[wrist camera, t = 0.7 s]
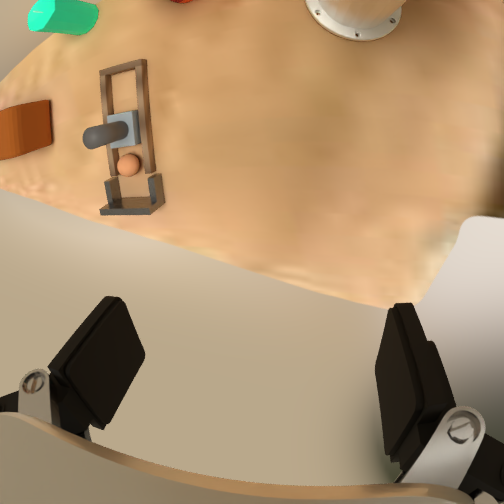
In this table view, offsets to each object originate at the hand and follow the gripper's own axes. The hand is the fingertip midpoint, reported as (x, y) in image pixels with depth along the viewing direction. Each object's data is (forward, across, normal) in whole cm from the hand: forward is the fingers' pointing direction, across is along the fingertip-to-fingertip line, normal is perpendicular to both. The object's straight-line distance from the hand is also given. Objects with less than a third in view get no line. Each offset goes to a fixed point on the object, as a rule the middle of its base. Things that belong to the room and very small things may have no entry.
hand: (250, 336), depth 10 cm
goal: (+33, +24, +3) cm, 40 cm away
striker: (+32, +23, -7) cm, 40 cm away
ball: (+31, +23, -2) cm, 39 cm away
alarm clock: (+33, +51, -14) cm, 62 cm away
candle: (+32, +30, -29) cm, 53 cm away
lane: (+32, +23, -8) cm, 41 cm away
